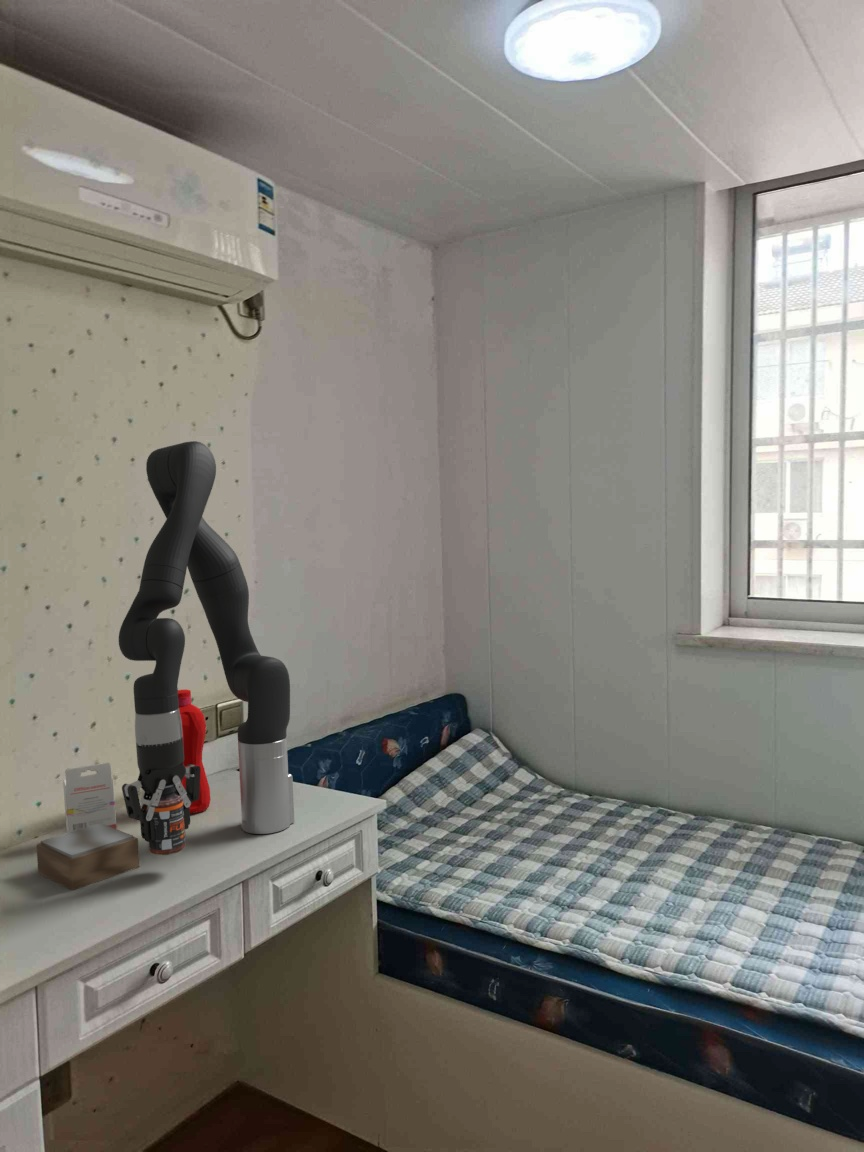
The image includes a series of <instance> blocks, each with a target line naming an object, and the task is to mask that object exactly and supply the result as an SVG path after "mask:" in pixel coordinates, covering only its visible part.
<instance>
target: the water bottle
mask: <svg viewBox="0 0 864 1152" xmlns="http://www.w3.org/2000/svg"><path fill="white" fill-rule="evenodd" d="M191 692H192V691H191V689H178V701H179V711H180V716H181V721H182V734H183V747H184V761H183V764H184V766H187V765H188V764H192V765H196V766H200V768H201V772H200V792H199V799H198V800H197V801H194V802H192V803H191V805H190V807H189V809H190V815H192V814H195V813H196V814H197V813H202V812H205V810H208V808H209V807H210V805H211V804H210V803H211V788H210V784H209V781H208V778H207V773H206V771H205V767H204V763H203V750H204V744H205V738H206V732H207V724H206V718H205V715H204V713H203V711H201V708H199V707H198V706H196V705H194V704H192V693H191ZM181 783H182V785H183V787H184V789H185V788H186V777H185V776H184V778H183V780H182V782H181Z"/></svg>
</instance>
